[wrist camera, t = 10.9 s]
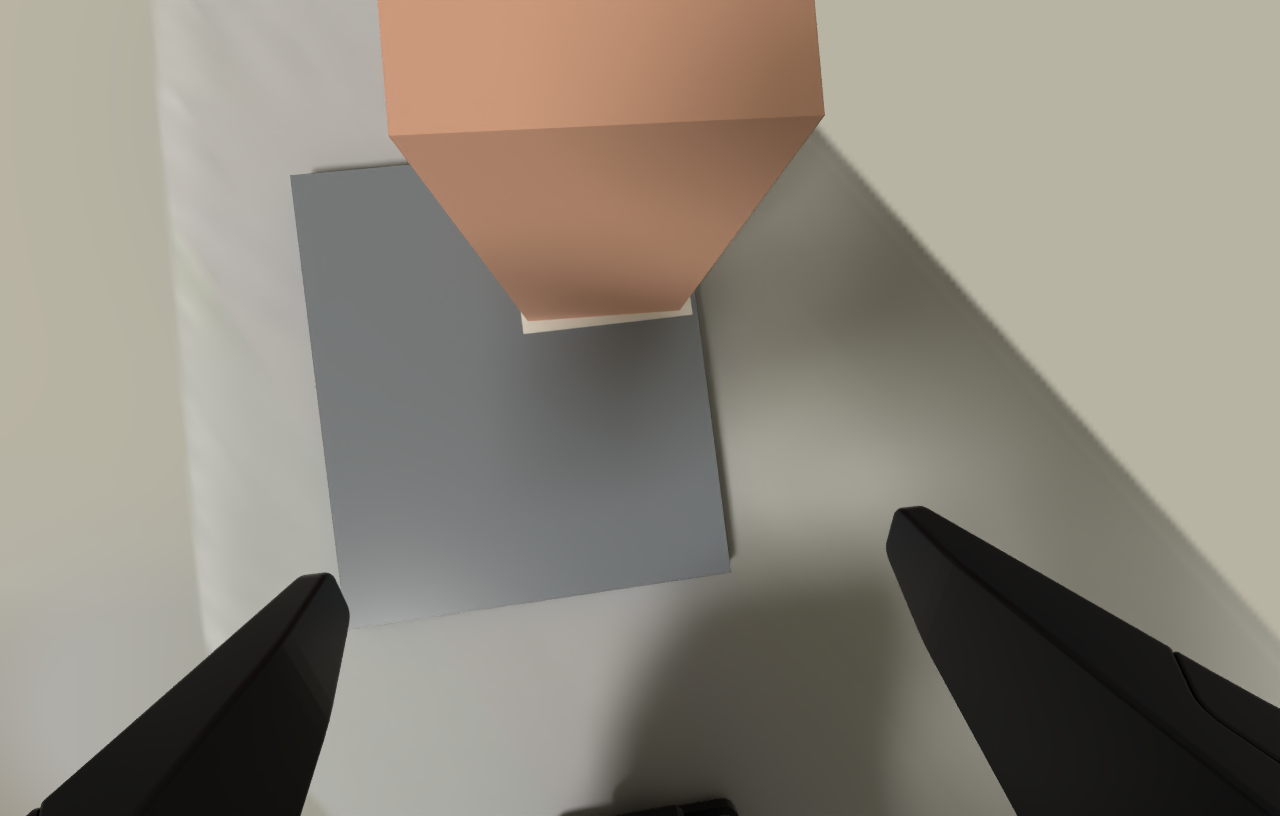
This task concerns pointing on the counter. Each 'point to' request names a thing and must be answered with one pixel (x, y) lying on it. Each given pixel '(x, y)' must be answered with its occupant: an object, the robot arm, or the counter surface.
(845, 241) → the counter surface
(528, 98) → the column
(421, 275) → the baseplate
